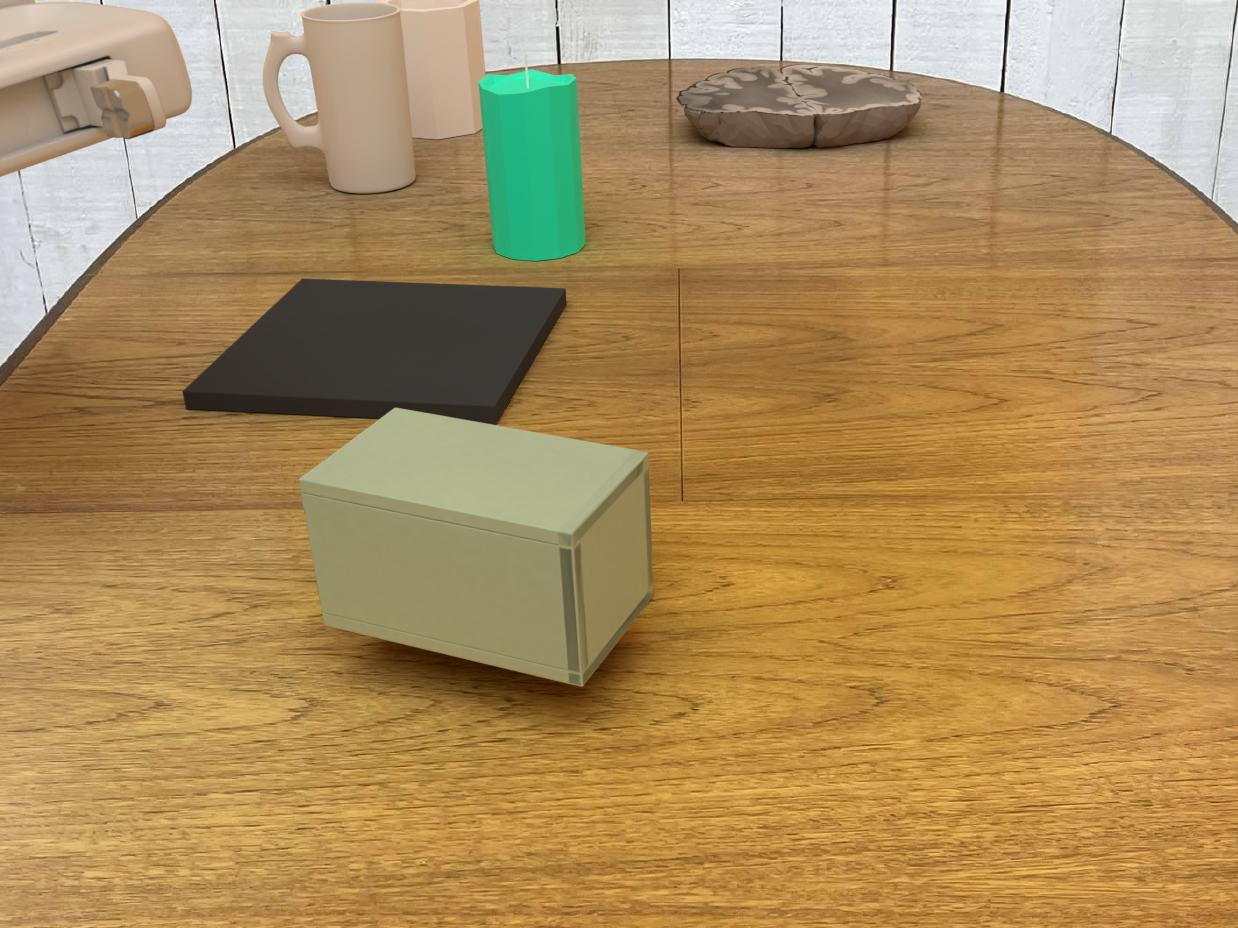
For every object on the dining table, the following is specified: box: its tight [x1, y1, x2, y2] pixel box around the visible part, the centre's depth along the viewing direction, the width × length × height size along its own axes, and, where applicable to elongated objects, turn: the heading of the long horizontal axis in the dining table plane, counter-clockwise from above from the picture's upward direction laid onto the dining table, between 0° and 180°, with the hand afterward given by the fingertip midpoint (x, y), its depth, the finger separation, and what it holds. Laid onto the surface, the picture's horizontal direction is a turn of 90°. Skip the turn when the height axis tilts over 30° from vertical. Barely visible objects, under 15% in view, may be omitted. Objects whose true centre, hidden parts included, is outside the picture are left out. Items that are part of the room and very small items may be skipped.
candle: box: [478, 53, 587, 262], centre depth 89 cm, size 6×6×12 cm
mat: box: [182, 278, 567, 425], centre depth 77 cm, size 16×16×1 cm
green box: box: [298, 408, 655, 688], centre depth 54 cm, size 11×6×6 cm, turn 68°
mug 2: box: [375, 0, 487, 140], centre depth 116 cm, size 12×9×10 cm
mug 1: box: [262, 1, 417, 195], centre depth 101 cm, size 10×7×12 cm, turn 100°
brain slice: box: [675, 64, 923, 149], centre depth 116 cm, size 20×17×3 cm
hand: (20, 151), depth 47 cm, fingers open, 8 cm apart
